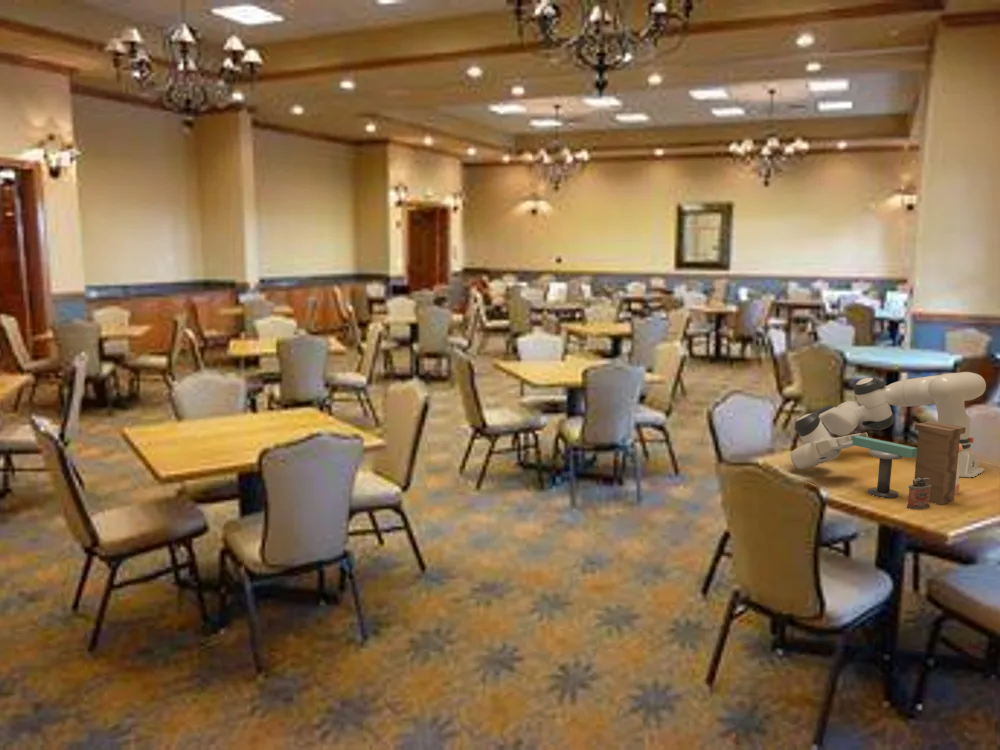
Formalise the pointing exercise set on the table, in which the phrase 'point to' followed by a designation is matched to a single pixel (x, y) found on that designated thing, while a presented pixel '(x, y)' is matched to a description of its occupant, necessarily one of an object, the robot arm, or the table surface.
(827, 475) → the table surface
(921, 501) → the lighter
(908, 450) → the rod
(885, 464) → the cake stand
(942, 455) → the tall stand
